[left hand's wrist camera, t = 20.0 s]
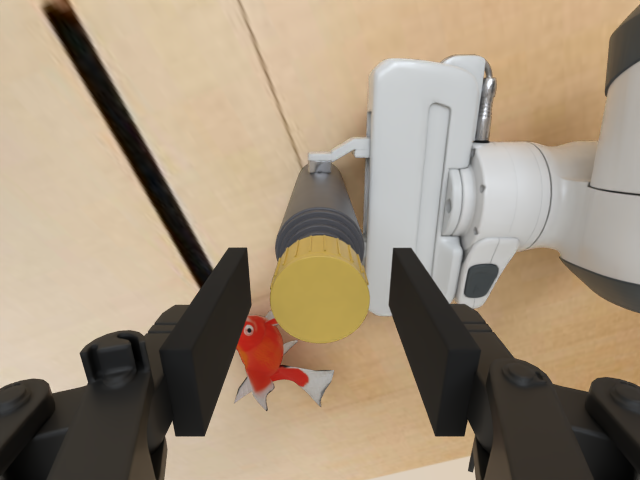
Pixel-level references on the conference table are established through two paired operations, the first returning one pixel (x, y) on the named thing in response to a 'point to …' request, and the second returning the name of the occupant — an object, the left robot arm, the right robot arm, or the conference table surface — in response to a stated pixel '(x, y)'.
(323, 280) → the cap
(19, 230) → the conference table surface
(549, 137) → the conference table surface
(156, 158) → the conference table surface
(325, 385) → the fish
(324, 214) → the bottle
